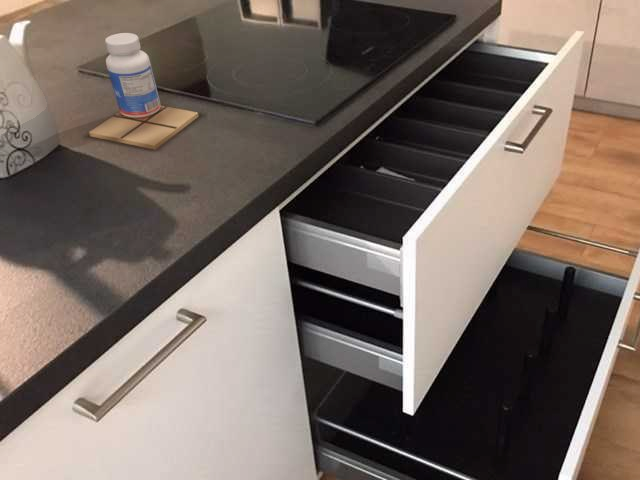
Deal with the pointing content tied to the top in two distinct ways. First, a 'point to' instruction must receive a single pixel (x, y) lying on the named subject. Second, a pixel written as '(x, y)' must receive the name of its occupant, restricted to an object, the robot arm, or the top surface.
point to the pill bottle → (131, 76)
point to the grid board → (145, 127)
